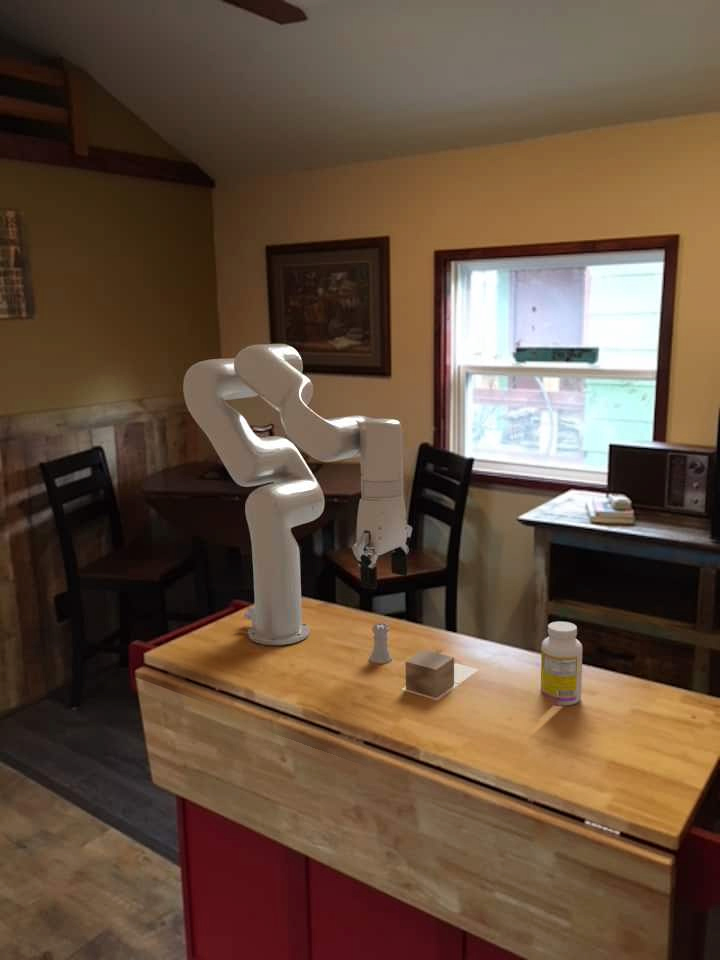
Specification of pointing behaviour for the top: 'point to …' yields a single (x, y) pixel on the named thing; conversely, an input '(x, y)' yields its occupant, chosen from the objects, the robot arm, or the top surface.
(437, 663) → the walnut block
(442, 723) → the top surface
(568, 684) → the supplement bottle
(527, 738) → the top surface
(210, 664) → the top surface
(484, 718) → the top surface
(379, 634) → the rook chess piece
